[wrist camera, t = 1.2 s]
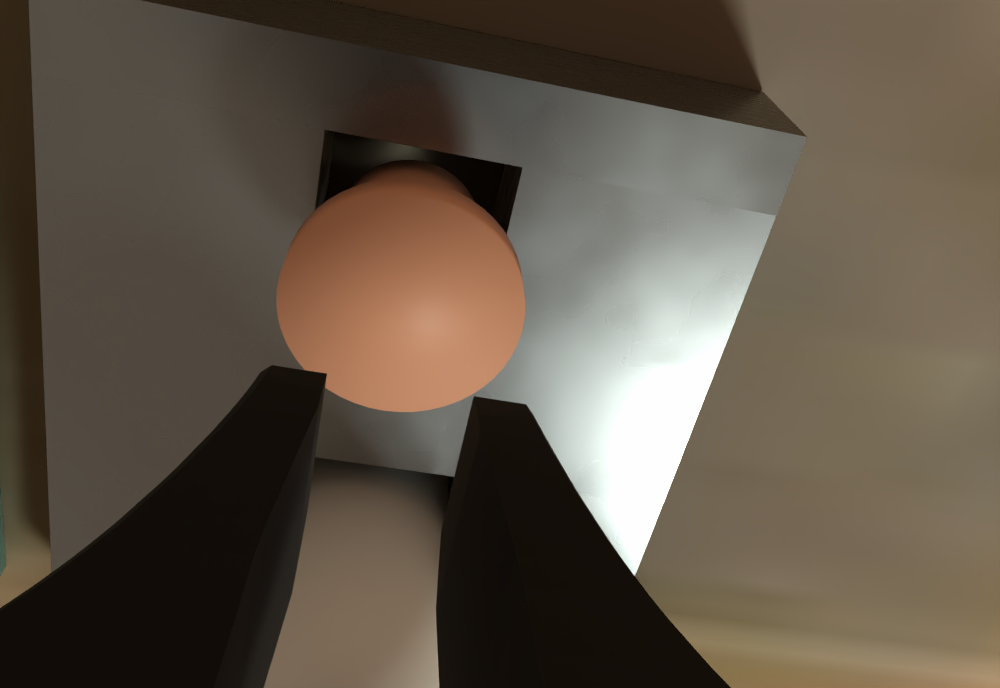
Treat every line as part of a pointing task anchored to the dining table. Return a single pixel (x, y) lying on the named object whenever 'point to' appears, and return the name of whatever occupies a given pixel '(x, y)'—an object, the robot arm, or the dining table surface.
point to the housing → (303, 188)
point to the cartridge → (365, 581)
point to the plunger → (402, 291)
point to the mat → (2, 542)
